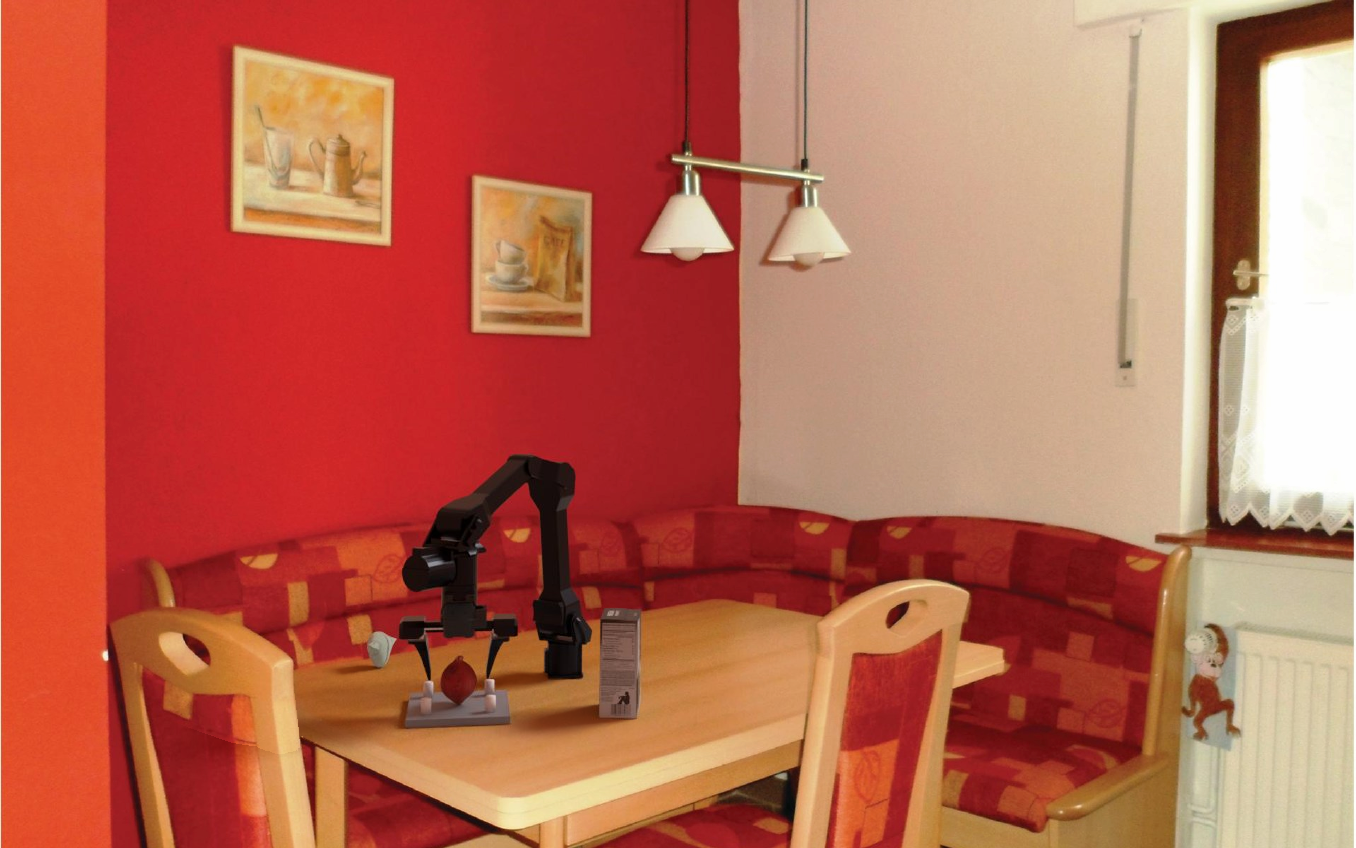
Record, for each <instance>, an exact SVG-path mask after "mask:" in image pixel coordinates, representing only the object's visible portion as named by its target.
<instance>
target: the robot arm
mask: <svg viewBox="0 0 1356 848" xmlns="http://www.w3.org/2000/svg"><path fill="white" fill-rule="evenodd" d="M576 477H577V476H576V471H575V468H574V467H573V466H572V465H571V464H570V463H569V462H566V461H552V460H548V459H545V458H541V457H539V456H536V455H535V454H530V453H528V454H526V453H514V454H512V455H509V456H508V458H507V459H506V462H505V463H504V464H502V465H501V466H500V468H498V469H496V471H495V472H494V473H493V474H491V475H490V476H489V477H488V478H487V479H486V480H484V482H482V483H481V484H480V485H479V486H478V487H477V488H476V489H474V490H473V491H472V492H471V493H469V494H468V495H465V496H463V497H459V498H457V499H453V500H452V501H450V502H448V503H446V504H444V505H443V506H442V507H440V509H439V510H438V511H437V512H436V514H435V519H434V521H433V523H432V525H431V526H430V529H429V531H428V533H427V535H426V537H425V539H424V541H423V542H422V547H421V546H416V547H412V549H411V555H409V557H408V558H407V559H406V560H405V561H404V563H403V567H402V569H401V577H402V580H403V583H404V585H405V586H406V588H407V589H408V590H410V591H411V592H414V593H420V592H425V591H431V590H434V589H435V590H436V589H440V588H441V591H440V592H441V599H440V600H441V604H440V605H441V607H440V620H426V615H404V616H402V618H401V619H400V621H399V625H398V639H399V640H404V641H405V640H407V642H406V643H407V644H408V645H413V646H414V647H415V649H416V651H417V653H418V655H419V656H420V659H421V663H422V665H423V668H424V671H425V674H426V678H427V681H432V665H431V657H430V649H429V648H430V647H429V638H428V633H429V634H431V633H432V634H433V633H434V634H436V633H442V636H443V638H446V639H453V638H465V639H470V638H471V639H472V638H473V637H474V636H475V633H476V632H490V636H489V643H488V645H489V646H488V653H487V659H486V667H485V678H486V679H490V677H491V673H492V669H493V667H494V663H495V661H496V659H497V658H496V657H497V655H498V653H499V650H500V649H501V647H502V645H503V644H504V643H508V642H510V640H511V638H513V637H514V638H515V637H518V636H519V619H518V617H517V616H516V614H515V613H493V614H492V619H487V617H488V609H487V607H488V605H487V604H478V560H479V558H478V555H480V554H485V553H486V552H487V548H486V547H485V546H484V545H483V544H481V543H480V541H479V540H480V539H481V538H482V537H483V535H484V534H485V533H486V532H487V530H488V529H489V528H490V526H491V523H492V517H493V515H494V514H495V512H496V511H497V510H498V509H499V508H500V507H501V506H503V505H504V504H505V503H506V502H507V501H508V500H509V499H510V498H511V497H512V496H513V495H514V494H515V493H517V491H519V489H521V488H522V487H523V486H524V485H525V484H527V487H528V493H529V497H530V499H531V500H532V502H533V504H534V505H535V507H536V509H538V513H539V514H538V515H539V531H540V533H539V535H540V549H541V551H540V552H541V569H542V570H541V571H542V590H541V592H540V594H539V596H538V598H535V599H533V601H532V610H533V617H532V622H534V624H535V627H536V628H535V629H536V632H537V636H538V640H539V642H540V641H541V642H546V647H545V648H544V649H543V671H544V674H546V675H547V676H546V677H547V678H548V679H571V678H572V679H576V678H584V672H583V646H585V645H586V646H587V645H588V643H590V642H591V639H592V634H593V629H592V628H591V626H590V625H589V623H588V622H587V621H586V619H585V618H584V616H583V613H582V607H581V601H580V598H579V597H578V596H577V594H576V593H575V591H574V589H573V588H572V586H571V569H570V551H569V550H570V549H569V545H570V544H569V531H568V530H569V527H568V508H569V505H570V504H571V503H572V500H573V498H574V496H575V491H576ZM486 679H485V680H486Z"/></svg>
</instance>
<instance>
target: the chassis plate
mask: <svg viewBox="0 0 1356 848" xmlns="http://www.w3.org/2000/svg"><path fill="white" fill-rule="evenodd" d="M422 689H423V691H422V692H411V693H410V694H409V700H408V703H407V704H408V705H407V709H406V716H405V722H404V723H405V724H404V725H405V727H404V728H405V729H411V728H413V729H417V728H437V727H439V728H441V727H463V726H466V727H467V726H485V725H487V726H489V725H490V726H491V725H493V726H494V725H511V711H510V704H509V703H510V702H509V696H508V690H507V689H496V690H495V679H493V678H489V679H484V690H474V692H473V693H472V694H471V695H470V696H469V697H468V698H467V699H466V700H465V701H464V702H463V703H462V704H456V703H454V702H453V701H451V700H450V699H448V698H447V697H446V696H445V695H444V694H443V692H442V691H438V692H437V691H434V681H432V680H431V681H428V680H426V681H423V688H422Z"/></svg>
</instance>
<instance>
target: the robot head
mask: <svg viewBox="0 0 1356 848" xmlns="http://www.w3.org/2000/svg"><path fill="white" fill-rule="evenodd" d="M396 641H397V638H395V637H392V636H390V635H388V634H386V633H384V632H383V631H375V632H373V633H371V635H369V637H368V638H367V643H366V650H367V652H368V656H369V659H370V661H371V663H372V664H373V665H374V666H375V667H376V668H380V667H381V668H382V667H384V666H385V665H386V664H387V663H388V661H389V658H390V654H391V652H392V648H393V646H394V643H395V642H396Z"/></svg>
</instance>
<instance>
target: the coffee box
mask: <svg viewBox="0 0 1356 848" xmlns="http://www.w3.org/2000/svg"><path fill="white" fill-rule="evenodd" d="M602 611H603V612H602V614H601V617H600V618H599V619H600V620H599V621H600V622H599V623H600V624H599V628H600V629H599V682H598V687H599V689H598V692H599V693H598V694H599V695H598V697H599V698H598V718H599V719H600V718H601V719H632V720H633V719H637V718H638V716H639V711H640V707H641V703H642V702H641V699H642V697H641V695H642V694H641V693H642V692H641V687H642V685H641V684H642V682H641V680H642V679H641V677H642V675H641V674H642V673H641V672H642V670H641V667H642V657H641V656H642V609H640V608H639V609H636V608H635V609H634V608H633V609H629V608H622V607H619V608H618V607H606V608H604V609H603V610H602Z"/></svg>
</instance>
